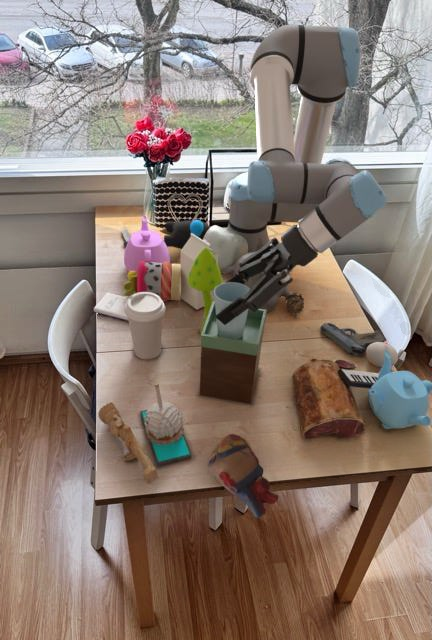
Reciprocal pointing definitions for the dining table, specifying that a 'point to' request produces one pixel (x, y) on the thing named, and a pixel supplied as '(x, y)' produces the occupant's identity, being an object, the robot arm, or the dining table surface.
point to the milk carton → (187, 260)
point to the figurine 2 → (381, 353)
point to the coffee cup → (145, 323)
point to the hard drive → (112, 306)
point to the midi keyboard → (358, 378)
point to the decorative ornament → (163, 422)
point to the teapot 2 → (399, 397)
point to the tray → (242, 345)
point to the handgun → (352, 338)
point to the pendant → (295, 303)
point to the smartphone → (169, 449)
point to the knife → (125, 236)
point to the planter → (226, 246)
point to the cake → (155, 280)
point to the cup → (224, 298)
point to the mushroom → (205, 278)
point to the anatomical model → (241, 473)
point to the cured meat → (326, 400)
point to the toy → (184, 232)
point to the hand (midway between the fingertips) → (219, 308)
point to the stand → (228, 374)
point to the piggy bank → (252, 281)
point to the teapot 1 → (145, 248)
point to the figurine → (127, 440)
